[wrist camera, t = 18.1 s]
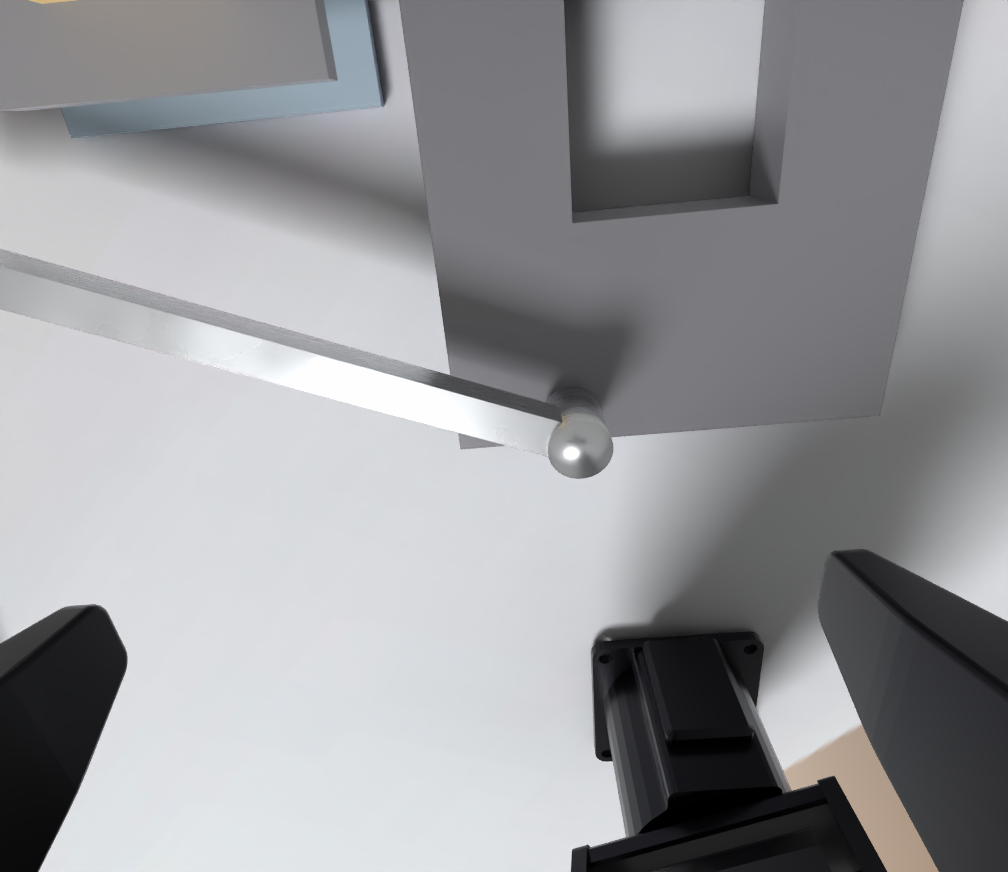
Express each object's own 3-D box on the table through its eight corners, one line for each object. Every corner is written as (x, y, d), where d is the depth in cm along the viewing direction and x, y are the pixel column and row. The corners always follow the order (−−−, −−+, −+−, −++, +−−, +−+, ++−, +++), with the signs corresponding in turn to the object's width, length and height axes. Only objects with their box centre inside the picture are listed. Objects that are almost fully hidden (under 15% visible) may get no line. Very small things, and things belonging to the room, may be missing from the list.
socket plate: (845, 388, 19) (880, 415, 18) (464, 420, 20) (460, 449, 18) (985, -437, 12) (1071, -537, 10) (362, -356, 12) (338, -437, 10)
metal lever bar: (608, 395, 17) (623, 431, 15) (588, 445, 18) (599, 486, 16) (-105, 190, 15) (-202, 201, 13) (-96, 256, 15) (-187, 276, 13)
